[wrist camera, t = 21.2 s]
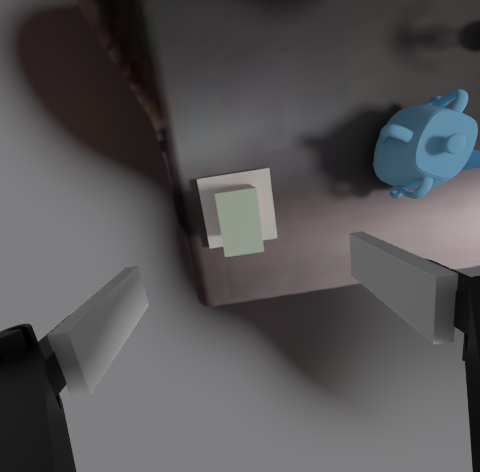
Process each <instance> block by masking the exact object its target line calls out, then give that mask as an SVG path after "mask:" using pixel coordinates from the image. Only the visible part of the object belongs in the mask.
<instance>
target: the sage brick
mask: <svg viewBox="0 0 480 472" xmlns="http://www.w3.org/2000/svg"><path fill="white" fill-rule="evenodd" d="M215 200H216V206H217V212H218V218H219V224H220V230H221V236H222V242H223V248H224V254H225V257H230V256H237V255H244V254H251V253H258V252H264V246H263V238H262V230H261V222H260V214H259V206H258V198H257V190H256V187H254V186H247V187H240V188H233V189H226V190H220V191H217V192H216V193H215Z"/></svg>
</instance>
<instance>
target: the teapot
mask: <svg viewBox="0 0 480 472" xmlns="http://www.w3.org/2000/svg"><path fill="white" fill-rule="evenodd" d="M454 99H456V100H455V102H454V104H453V106H452V107H451V109H449V108H445V107H444V106H445V105H447V104H448V103H450V102H451V101H453V100H454ZM467 102H468V94H467V93H466V91H464V90H461V89H455V90H452V91H450V92H448V93H447V94H445V95H444V96H442V97H440V96H434V97H431V98H430V99H429V100H428V101H427V103H426V104H425V105H423V104H422V105H413V106H409V107H406V108H403V109H401V110H399V111H398V112H397V113H395V114H394V115H393V116H392V117H391V118H390V120H389V121H388V122H387V124H386V125H385V126H384V127H383V128H382V129H381V131H380V136H379V138H378V141H377V144H376V147H375V152H374V161H373V164H372V165H373V168H374V171H375V173H376V175H377V177H378V178H379V179H380V180H382V181H383V182H385V183H387V184H389V185H392V186H393V187H392V188H391V190H390V195H391V196H392V197H393V198H400V197H401V195H402V193H403V194H404V195H405V196H407V197H409V198H413V199H417V198H421V197H423V196H424V195H425V194H426V193H427V192H428V191H429V189H430V188H432V187H435V186H438V185H440V184H442V183H444V182H446V181H447V180H449V179H451V178H453V177H454V176H455V175H457V174H458V173H459V172H460V171H461V170H467V169H473V168H479V167H480V151H475V150H473V148H474V145H475V142H476V138H477V131H478V128H477V123H476V121H475V120H474V119H472V118H471V117H469V116H467V115H465V114H463V113H462V111H463V110H464V108H465V106H466V104H467ZM408 189H409V190H415V191H414V192H413V193H412V192H410V191H409V190H408Z"/></svg>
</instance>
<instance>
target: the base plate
mask: <svg viewBox="0 0 480 472" xmlns="http://www.w3.org/2000/svg"><path fill="white" fill-rule="evenodd" d="M197 184H198V189H199V194H200V200H201V205H202V210H203V215H204V221H205V226H206V231H207V237H208V242H209V247H210V248H216V247H223V242H222V236H221V230H220V224H219V218H218V212H217V206H216V200H215V193H216V192H217V190H218V189H219V188H225V187H231V186H238V185H244V184H251V185H252V186H254V187H256V190H257V198H258V206H259V214H260V222H261V230H262V238H263V240H269V239H275V238H277V230H276V222H275V214H274V205H273V197H272V188H271V180H270V171H269V168H265V169H259V170H252V171H246V172H240V173H233V174H227V175H220V176H214V177H208V178H201V179H197Z"/></svg>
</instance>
